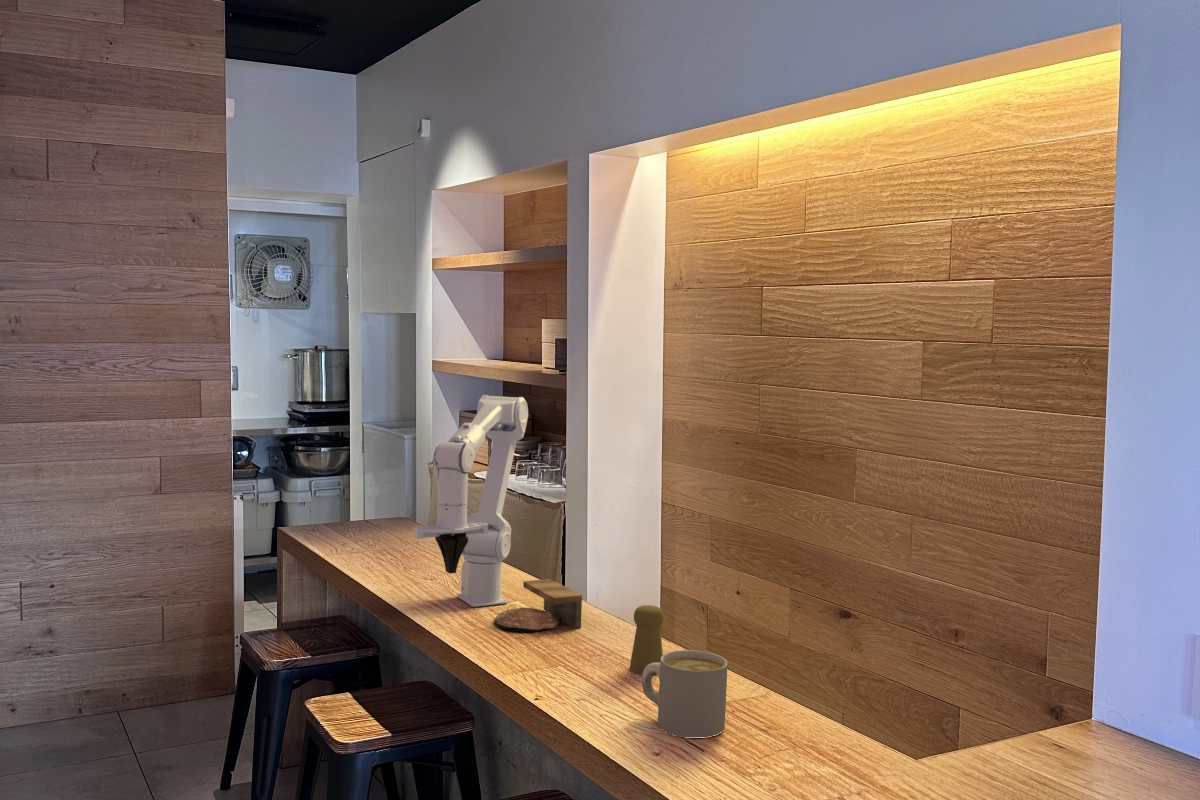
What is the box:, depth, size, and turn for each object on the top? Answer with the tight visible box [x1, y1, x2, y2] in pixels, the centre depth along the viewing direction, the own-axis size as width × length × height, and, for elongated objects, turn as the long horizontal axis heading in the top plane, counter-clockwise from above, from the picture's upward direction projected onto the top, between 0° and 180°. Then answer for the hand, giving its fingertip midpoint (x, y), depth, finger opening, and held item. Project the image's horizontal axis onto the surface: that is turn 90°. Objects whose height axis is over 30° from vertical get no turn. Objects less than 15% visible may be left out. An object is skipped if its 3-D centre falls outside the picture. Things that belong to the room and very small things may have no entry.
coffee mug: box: [641, 649, 728, 737], centre depth 156 cm, size 13×10×10 cm
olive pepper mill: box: [628, 604, 665, 676], centre depth 180 cm, size 6×6×11 cm
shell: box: [494, 607, 561, 634], centre depth 205 cm, size 12×13×4 cm
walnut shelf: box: [522, 578, 583, 629], centre depth 208 cm, size 14×6×6 cm, turn 29°
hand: (450, 572), depth 204 cm, fingers closed
